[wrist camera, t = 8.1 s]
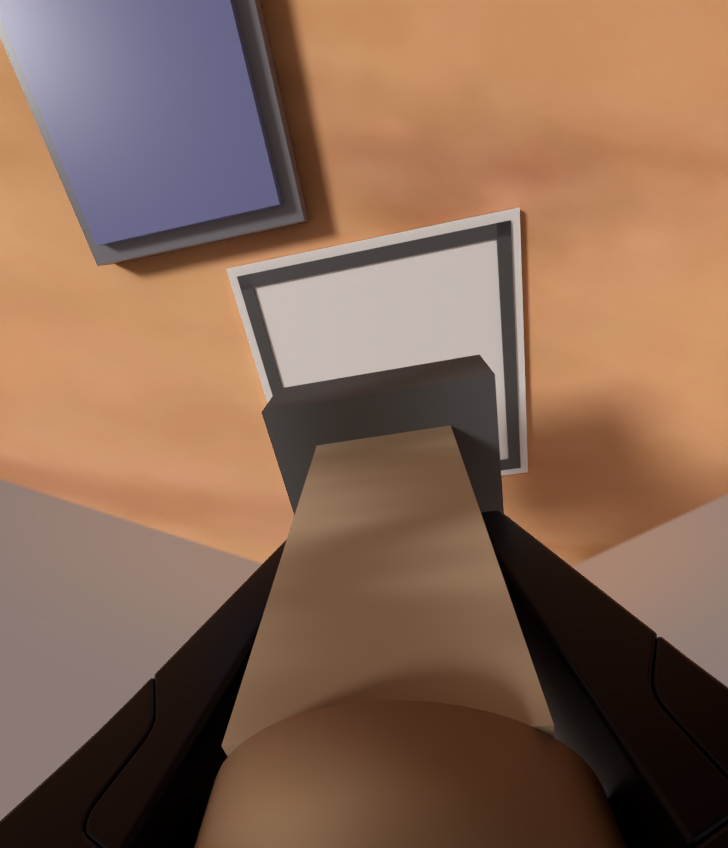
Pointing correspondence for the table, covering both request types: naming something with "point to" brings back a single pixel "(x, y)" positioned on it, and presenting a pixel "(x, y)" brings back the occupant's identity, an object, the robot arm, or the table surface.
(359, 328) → the marked card
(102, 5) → the ink pad
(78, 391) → the table surface
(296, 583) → the stamp
